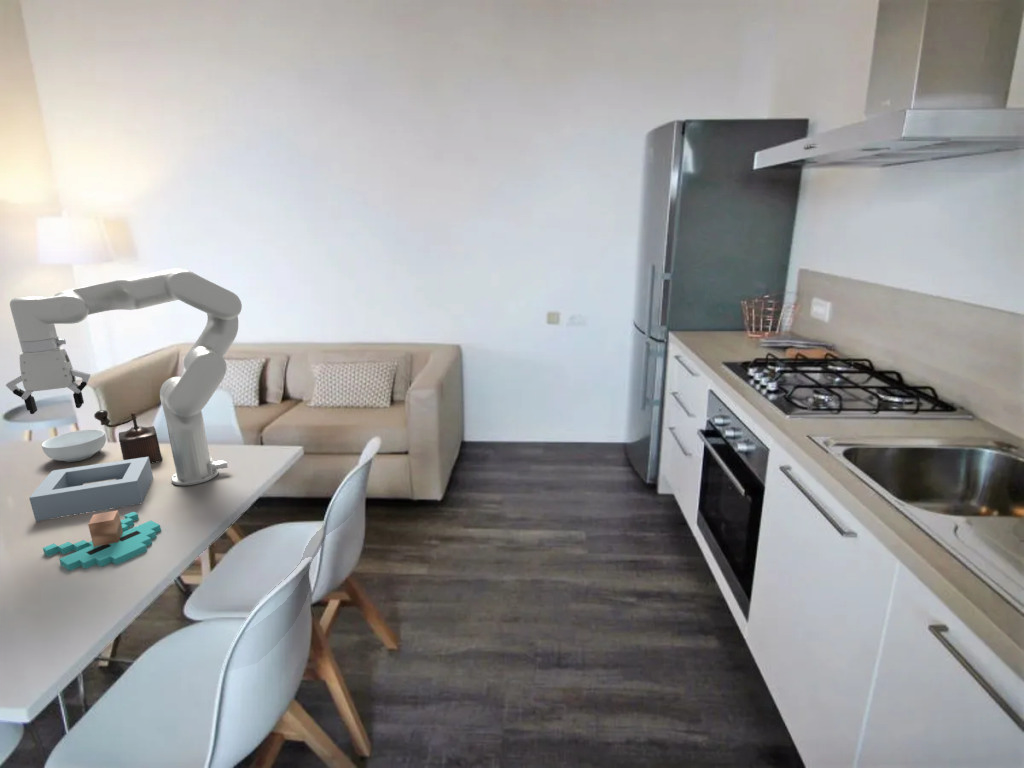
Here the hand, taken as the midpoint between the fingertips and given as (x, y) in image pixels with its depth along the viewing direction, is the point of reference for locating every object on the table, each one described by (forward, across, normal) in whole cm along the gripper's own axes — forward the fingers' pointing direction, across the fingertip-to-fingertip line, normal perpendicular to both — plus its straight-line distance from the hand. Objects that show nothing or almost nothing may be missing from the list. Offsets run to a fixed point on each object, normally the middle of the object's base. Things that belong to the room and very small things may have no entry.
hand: (57, 409), depth 148 cm
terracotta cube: (+27, -10, +26) cm, 39 cm away
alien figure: (+29, -11, +27) cm, 41 cm away
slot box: (+28, -3, -4) cm, 29 cm away
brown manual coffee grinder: (+29, -8, -30) cm, 42 cm away
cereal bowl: (+29, +9, -43) cm, 52 cm away
